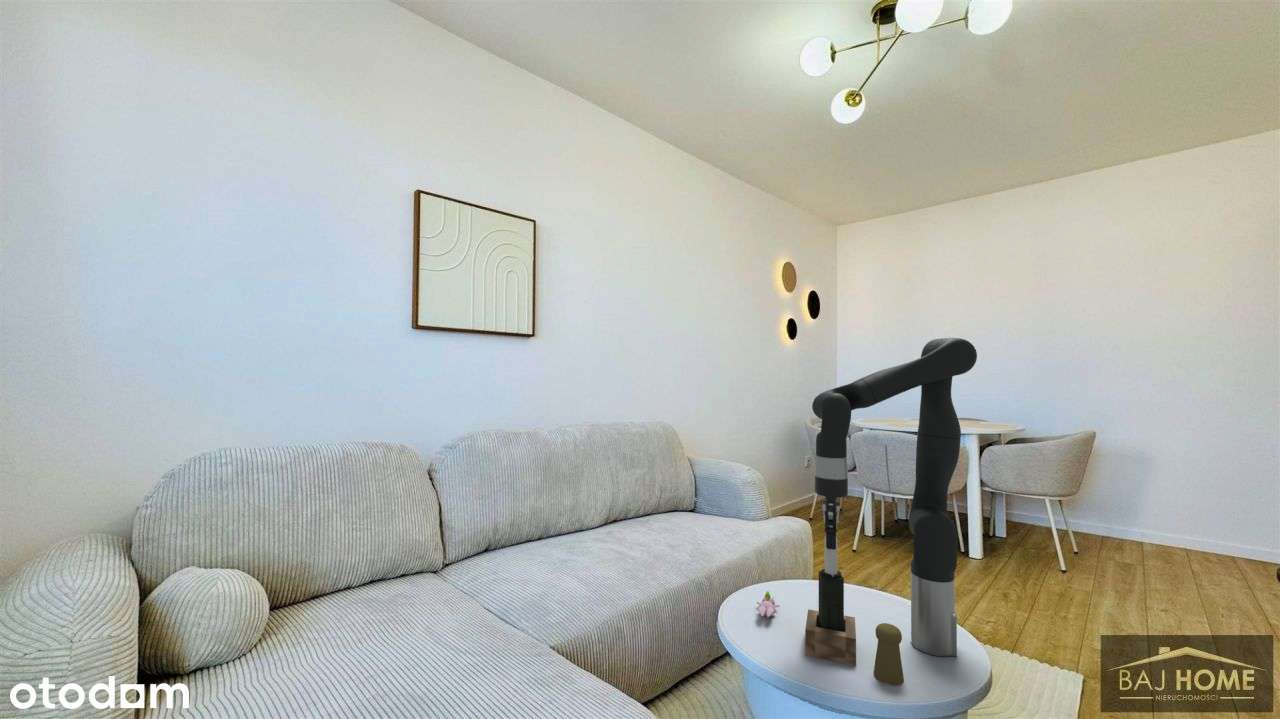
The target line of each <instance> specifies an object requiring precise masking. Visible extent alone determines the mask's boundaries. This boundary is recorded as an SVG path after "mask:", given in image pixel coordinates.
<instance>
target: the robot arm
mask: <svg viewBox="0 0 1280 719" xmlns="http://www.w3.org/2000/svg"><path fill="white" fill-rule="evenodd" d="M977 358H978V353H977V350H976V348H975V346H974V345H973V343H971V342H970V341H969V340H967V339H965V338H962V337H961V338H960V337H942V338H934V339H931V340H930V341H928V342H927V343H925V345H924V346H923V348H922V351H921V353H920V357H919V358H917V359H914V360H911V361H909V362H905V363H903V364H898V365H895V366H891V367H888V368H884V369H881V370H878V371H876V372H873V373H871V374H868V375H865V376H863V377H861V378H859V379H857V380H854V381H852V382H850V383H848V384H845V385H840V386H837V387H834V388H831V389H828V390H826V391H823V392H821V393H819V394H818V395H817V396H816V397H815V398H814V400H813V402H812V404H811V406H812V407H811V408H812V412H813V413H814V415H815V416H816V417H817V418H819V419H820V420H821V427H820V432H818V433H817V435H816V436H815V437H816V438H815V462H814V493H816V494H817V495H818V496H820V497H821V496H822V497H825V499H824V500H822V504H821V506H822V508H821V509H822V511H823V512H822V514H823V520H822V521H823V523H824V525H825V526H824V533H825V536H826V548H827V549H832V550H835V549H836V537H837V533H838V529H837V528H838V525H839V523H840V522H839V521H840V520H839V519H840V518H839V517H840V510H841V502H840V501H838V500H837V499H838V498H845V497H847V496H848V495H849V494H848V493H849V468H848V467H849V465H848V464H849V463H848V458H847V456H848V455H847V453H848V452H847V448H848V447H847V446H848V445H847V438H848V434H849V430H850V425H851V419H852V411H855V410H858V409H866V408H870V407H872V406H874V405H877V404H879V403H882V402H884V401H886V400H888V399H890V398H893V397H896V396H898V395H900V394H902V393H905V392H906V391H910V390H912V389H915V388H918V387H921V388H920V390H921V391H920V393H921V394H920V405H919V415H918V416H919V419H918V420H919V421H918V428H917V438H916V446H915V447H916V449H915V452H916V453H915V483H914V484H915V485H914V491H913V498H912V501H911V507H910V511H909V514H908V527H909V530H910V533H911V534H912V535H913V557H912V558H911V559H912V560H910V642H911V644H912V646H913V647H915V649H918V650H919V651H921V652H922V653H926V654H928V655H931V656H937V657H950V656H952V657H957V656H958V646H957V645H958V632H957V630H958V618H957V614H956V611H955V572H956V570H957V566H958V531H957V528H956V525H955V523H954V521H953V520H952V519H951V518H950V517H949V515H948V492H949V486H950V482H951V480H952V478H953V476H954V473H955V471H956V468H957V466H958V461H959V458H960V450H961V441H962V440H961V438H962V430H961V429H962V428H961V425H960V421H959V418H958V415H957V411H956V409H955V406H954V403H953V398H952V384H953V383H952V382H953V377H956V376H960V375H964V374H965V373H968V372H970V371H971V370H972V369H973V368H974V366H975V365H976V362H977ZM829 525H831V526H833V527H832V528H830V527H829Z"/></svg>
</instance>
